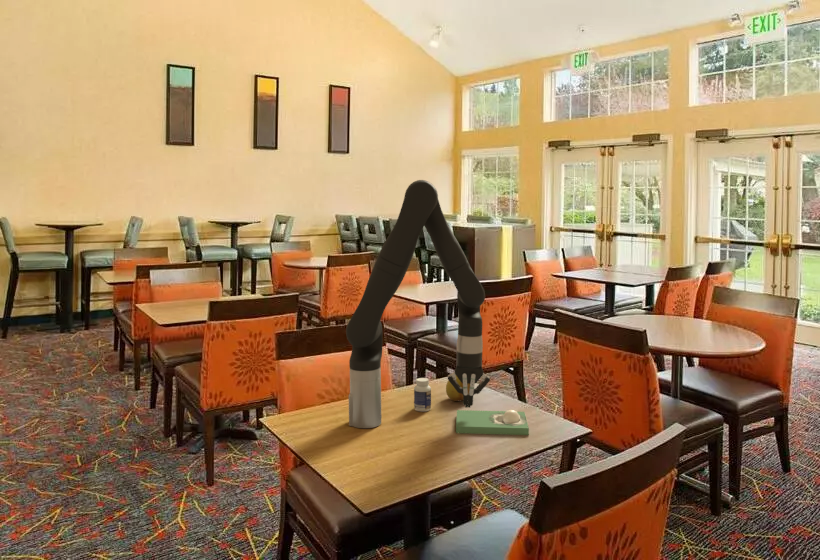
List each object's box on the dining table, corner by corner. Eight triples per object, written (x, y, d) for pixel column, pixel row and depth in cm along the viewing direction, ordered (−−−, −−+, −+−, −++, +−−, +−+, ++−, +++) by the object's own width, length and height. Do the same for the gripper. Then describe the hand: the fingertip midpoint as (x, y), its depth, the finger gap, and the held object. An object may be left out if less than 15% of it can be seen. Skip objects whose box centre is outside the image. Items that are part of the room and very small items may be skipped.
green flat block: (456, 433, 180) (456, 426, 180) (456, 416, 194) (456, 410, 194) (529, 435, 178) (529, 428, 178) (524, 418, 192) (524, 411, 192)
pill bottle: (429, 412, 198) (429, 382, 197) (412, 411, 199) (412, 381, 198) (432, 407, 203) (432, 377, 202) (416, 406, 204) (415, 376, 203)
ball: (509, 409, 183) (523, 418, 183) (508, 404, 187) (522, 413, 187) (500, 422, 183) (514, 431, 183) (499, 417, 188) (512, 426, 188)
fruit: (442, 397, 213) (442, 362, 212) (467, 394, 216) (467, 360, 214) (451, 405, 205) (451, 369, 203) (477, 402, 208) (477, 366, 206)
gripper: (446, 352, 181) (445, 410, 183) (492, 353, 180) (491, 412, 182) (447, 345, 188) (445, 401, 191) (491, 347, 187) (489, 403, 190)
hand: (468, 406), depth 187 cm, fingers closed
